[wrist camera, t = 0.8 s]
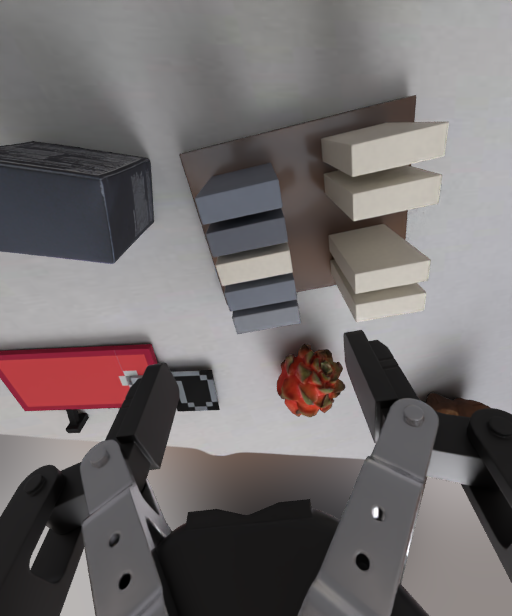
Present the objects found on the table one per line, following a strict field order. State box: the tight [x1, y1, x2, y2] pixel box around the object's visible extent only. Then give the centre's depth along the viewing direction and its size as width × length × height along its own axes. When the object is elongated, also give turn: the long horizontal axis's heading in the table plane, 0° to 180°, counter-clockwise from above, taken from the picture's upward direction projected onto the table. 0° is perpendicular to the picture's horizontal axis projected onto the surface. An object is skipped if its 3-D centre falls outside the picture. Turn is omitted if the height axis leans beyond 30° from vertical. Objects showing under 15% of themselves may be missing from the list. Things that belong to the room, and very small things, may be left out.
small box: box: [0, 141, 154, 264], centre depth 23 cm, size 11×6×10 cm, turn 83°
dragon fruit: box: [277, 344, 345, 417], centre depth 38 cm, size 8×8×12 cm
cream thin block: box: [216, 242, 293, 286], centre depth 25 cm, size 2×6×9 cm, turn 102°
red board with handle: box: [0, 344, 220, 433], centre depth 41 cm, size 30×3×15 cm
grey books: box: [195, 163, 301, 334], centre depth 25 cm, size 11×6×9 cm, turn 12°
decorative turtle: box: [426, 393, 490, 417], centre depth 43 cm, size 10×15×8 cm, turn 170°
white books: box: [321, 122, 449, 322], centre depth 24 cm, size 13×6×9 cm, turn 12°
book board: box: [180, 95, 416, 305], centre depth 29 cm, size 16×20×2 cm
